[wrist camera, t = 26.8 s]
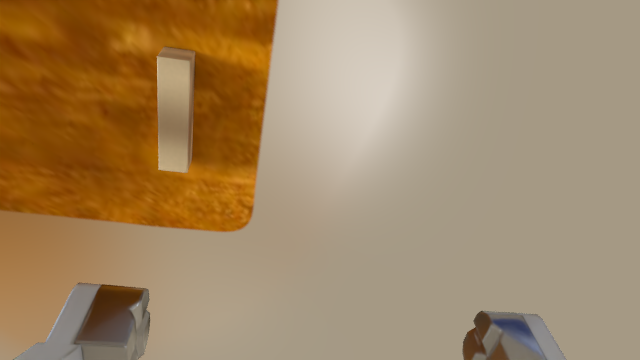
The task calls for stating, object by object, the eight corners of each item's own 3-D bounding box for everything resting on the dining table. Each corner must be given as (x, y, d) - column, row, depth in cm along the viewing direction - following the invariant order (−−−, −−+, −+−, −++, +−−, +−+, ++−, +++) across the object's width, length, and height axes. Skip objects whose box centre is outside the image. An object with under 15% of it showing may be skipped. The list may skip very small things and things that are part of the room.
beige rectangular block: (163, 46, 36) (156, 56, 34) (195, 51, 37) (190, 61, 35) (164, 155, 42) (158, 170, 40) (192, 159, 42) (187, 173, 40)
